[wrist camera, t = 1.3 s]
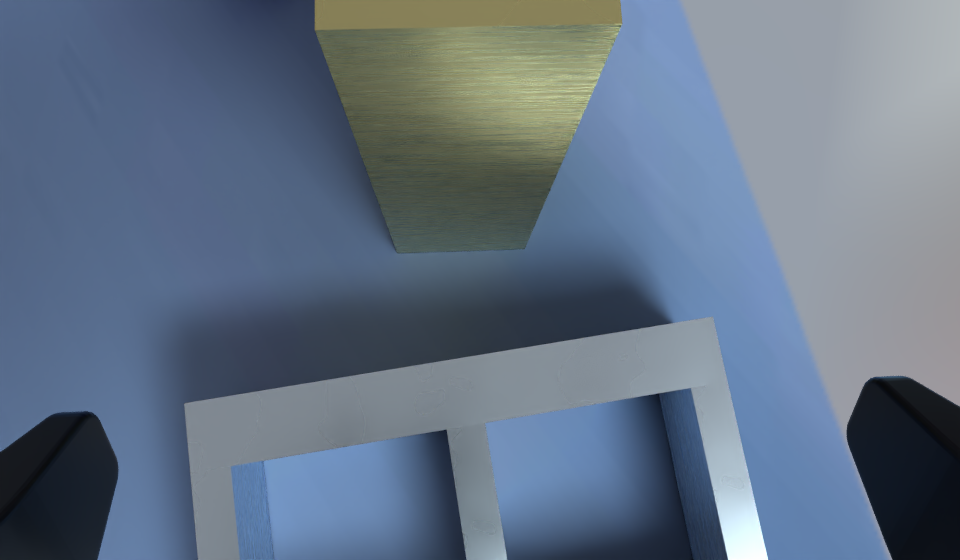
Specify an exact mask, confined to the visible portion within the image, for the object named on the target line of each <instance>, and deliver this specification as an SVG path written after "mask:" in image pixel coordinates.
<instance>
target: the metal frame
mask: <svg viewBox="0 0 960 560" xmlns="http://www.w3.org/2000/svg"><path fill="white" fill-rule="evenodd" d="M658 393H659V398H660V403H661V408H662V412H663V417H664V422H665V427H666V432H667V436H668V441H669V446H670V451H671V456H672V460H673V465H674V470H675V475H676V479H677V484H678V489H679V494H680V499H681V503H682V508H683V513H684V518H685V523H686V527H687V532H688V537H689V542H690V546H691V551H692V556H693V560H768V558H767V554H766V549H765V545H764V540H763V536H762V531H761V527H760V523H759V518H758V514H757V509H756V505H755V501H754V496H753V492H752V487H751V483H750V479H749V474H748V470H747V465H746V461H745V457H744V452H743V448H742V443H741V439H740V435H739V430H738V426H737V421H736V417H735V413H734V408H733V404H732V399H731V395H730V391H729V386H728V382H727V377H726V373H725V369H724V364H723V360H722V355H721V351H720V347H719V342H718V338H717V333H716V329H715V324H714V320H713V317H708V318H702V319H695V320H689V321H683V322H677V323H671V324H665V325H659V326H653V327H647V328H641V329H634V330H628V331H622V332H616V333H610V334H604V335H598V336H592V337H586V338H580V339H573V340H567V341H561V342H555V343H549V344H543V345H537V346H531V347H525V348H518V349H512V350H506V351H500V352H494V353H488V354H482V355H476V356H470V357H464V358H457V359H451V360H445V361H439V362H433V363H427V364H421V365H415V366H409V367H402V368H396V369H390V370H384V371H378V372H372V373H366V374H360V375H354V376H348V377H341V378H335V379H329V380H323V381H317V382H311V383H305V384H299V385H293V386H286V387H280V388H274V389H268V390H262V391H256V392H250V393H244V394H238V395H232V396H225V397H219V398H213V399H207V400H201V401H195V402H189V403H184V407H185V418H186V430H187V441H188V452H189V464H190V475H191V486H192V497H193V509H194V520H195V531H196V542H197V554H198V560H274V557H273V547H272V538H271V529H270V519H269V510H268V501H267V491H266V482H265V473H264V463H263V461H265V460H270V459H276V458H282V457H288V456H294V455H300V454H306V453H312V452H317V451H323V450H329V449H335V448H341V447H347V446H353V445H359V444H364V443H370V442H376V441H382V440H388V439H394V438H400V437H405V436H411V435H417V434H423V433H429V432H435V431H441V430H447V435H448V442H449V448H450V455H451V461H452V468H453V474H454V481H455V487H456V494H457V500H458V507H459V513H460V520H461V526H462V533H463V539H464V546H465V552H466V559H467V560H507V555H506V549H505V543H504V536H503V530H502V524H501V518H500V512H499V506H498V500H497V494H496V488H495V481H494V475H493V469H492V463H491V457H490V451H489V445H488V439H487V433H486V427H485V423H488V422H493V421H499V420H505V419H511V418H517V417H523V416H529V415H535V414H540V413H546V412H552V411H558V410H564V409H570V408H576V407H582V406H587V405H593V404H599V403H605V402H611V401H617V400H623V399H628V398H634V397H640V396H646V395H652V394H658Z"/></svg>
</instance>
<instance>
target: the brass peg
mask: <svg viewBox="0 0 960 560" xmlns="http://www.w3.org/2000/svg"><path fill="white" fill-rule="evenodd" d="M621 25H622V16H621V5H620V0H315V32H316V34H317V37H318V40H319V43H320V45H321V48H322V51H323V53H324V56H325V59H326V62H327V64H328V67H329V70H330V72H331V75H332V78H333V80H334V83H335V86H336V89H337V91H338V94H339V97H340V99H341V102H342V105H343V108H344V110H345V113H346V116H347V118H348V121H349V124H350V126H351V129H352V132H353V135H354V137H355V140H356V143H357V145H358V148H359V151H360V154H361V156H362V159H363V162H364V164H365V167H366V170H367V172H368V175H369V178H370V181H371V183H372V186H373V189H374V191H375V194H376V197H377V200H378V202H379V205H380V208H381V210H382V213H383V216H384V218H385V221H386V224H387V227H388V229H389V232H390V235H391V237H392V240H393V243H394V246H395V248H396V251H397V253H419V252H449V251H479V250H509V249H525V247H526V244H527V242H528V240H529V238H530V235H531V233H532V231H533V228H534V226H535V224H536V221H537V219H538V217H539V214H540V212H541V210H542V208H543V205H544V203H545V201H546V198H547V196H548V194H549V191H550V189H551V187H552V184H553V182H554V180H555V178H556V175H557V173H558V171H559V168H560V166H561V164H562V161H563V159H564V157H565V155H566V152H567V150H568V148H569V145H570V143H571V141H572V138H573V136H574V134H575V131H576V129H577V127H578V125H579V122H580V120H581V118H582V115H583V113H584V111H585V108H586V106H587V104H588V102H589V99H590V97H591V95H592V92H593V90H594V88H595V85H596V83H597V81H598V78H599V76H600V74H601V72H602V69H603V67H604V65H605V62H606V60H607V58H608V55H609V53H610V51H611V49H612V46H613V44H614V42H615V39H616V37H617V35H618V32H619V30H620V28H621Z"/></svg>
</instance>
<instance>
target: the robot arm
mask: <svg viewBox="0 0 960 560" xmlns="http://www.w3.org/2000/svg"><path fill="white" fill-rule="evenodd" d="M847 441H848V445H849V448H850V451H851V453H852V456H853V459H854V461H855V464H856V466H857V469H858V472H859V474H860V477H861V480H862V482H863V485H864V487H865V490H866V493H867V495H868V498H869V501H870V503H871V506H872V508H873V511H874V514H875V516H876V519H877V522H878V524H879V527H880V530H881V532H882V535H883V537H884V540H885V543H886V545H887V547H888V550H889V552H890V555H891V557H892V559H893V560H960V406H958V405H956V404H954V403H953V402H951V401H949V400H947V399H946V398H944V397H942V396H941V395H939V394H937V393H935V392H934V391H932V390H930V389H929V388H927V387H925V386H923V385H922V384H920V383H918V382H916V381H914V380H913V379H911V378H908V377H904V376H886V377H885V376H884V377H873V378H871V379H869V380H868V381H867V382H866V383H865V385H864V387H863V389H862V391H861V393H860V396H859V398H858V400H857V403H856V405H855V407H854V410H853V412H852V415H851V417H850V420H849V422H848V425H847ZM117 479H118V462H117V458H116V456H115V453H114V451H113V449H112V447H111V444H110V442H109V440H108V438H107V436H106V433H105V431H104V429H103V427H102V424H101V422H100V420H99V419H98V417H97V416H96V415H95V414H94V413H92V412H88V411H83V412H61V413H56V414H53V415H51V416H49V417H48V418H46V419H45V420H43V421H42V422H41V423H39V424H38V425H36V426H35V427H34V428H32V429H31V430H30V431H28V432H27V433H26V434H24V435H23V436H22V437H20V438H19V439H18V440H16V441H15V442H14V443H12V444H11V445H10V446H8V447H7V448H5V449H4V450H3V451H1V452H0V560H97V559H98V555H99V551H100V547H101V543H102V539H103V535H104V531H105V528H106V524H107V520H108V516H109V512H110V508H111V504H112V500H113V496H114V492H115V488H116V484H117Z"/></svg>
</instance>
